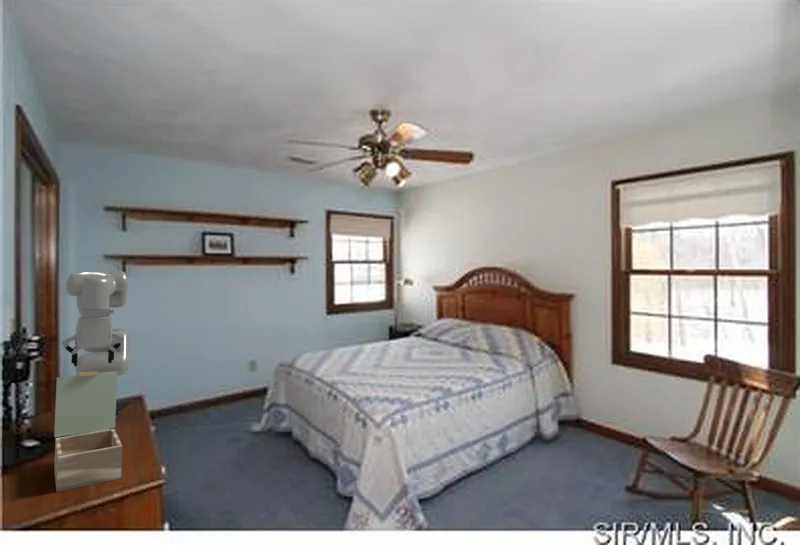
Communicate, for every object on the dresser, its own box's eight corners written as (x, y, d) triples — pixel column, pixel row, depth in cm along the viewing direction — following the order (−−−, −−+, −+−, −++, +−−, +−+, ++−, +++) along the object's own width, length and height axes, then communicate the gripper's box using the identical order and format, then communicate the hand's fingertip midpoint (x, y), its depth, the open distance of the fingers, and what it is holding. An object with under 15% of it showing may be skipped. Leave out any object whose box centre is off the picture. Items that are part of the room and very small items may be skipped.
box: (54, 469, 142) (55, 438, 142) (112, 457, 152) (114, 428, 152) (56, 492, 128) (58, 457, 128) (121, 477, 138) (122, 445, 139)
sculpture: (87, 422, 182) (89, 405, 183) (110, 416, 210) (112, 401, 212) (113, 420, 185) (115, 404, 186) (133, 414, 213) (134, 400, 214)
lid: (54, 438, 141) (54, 436, 143) (115, 428, 152) (114, 426, 154) (57, 375, 142) (56, 374, 145) (117, 370, 153) (116, 369, 155)
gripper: (123, 311, 158) (120, 359, 158) (62, 312, 146) (60, 364, 147) (126, 314, 152) (124, 363, 152) (63, 316, 141) (61, 369, 141)
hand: (92, 363), depth 150 cm, fingers open, 9 cm apart
